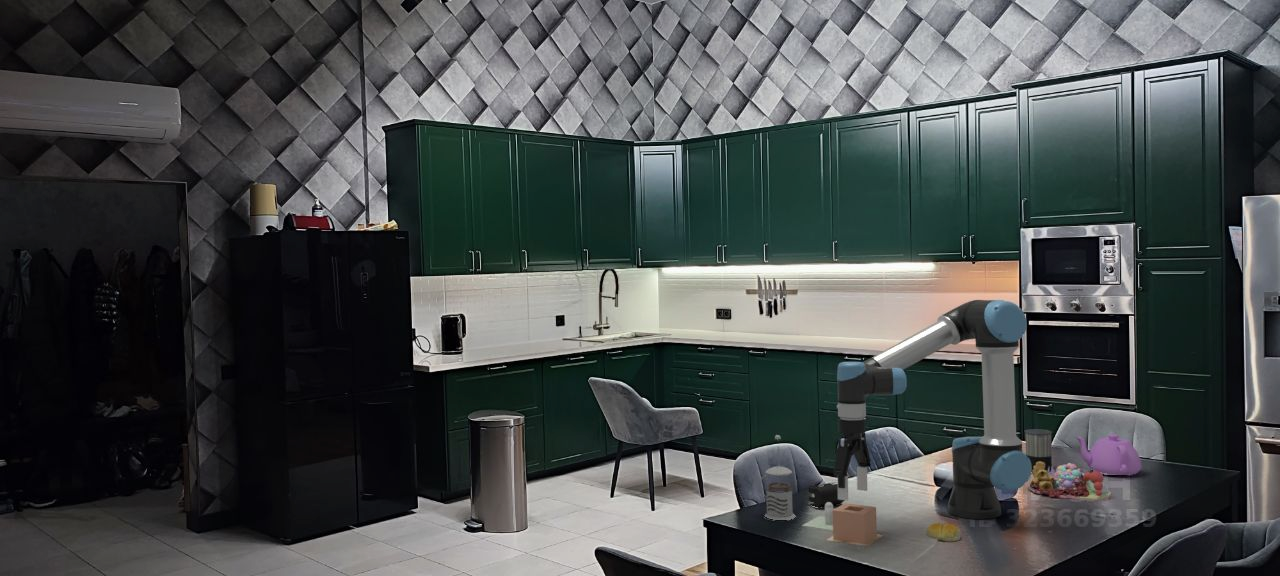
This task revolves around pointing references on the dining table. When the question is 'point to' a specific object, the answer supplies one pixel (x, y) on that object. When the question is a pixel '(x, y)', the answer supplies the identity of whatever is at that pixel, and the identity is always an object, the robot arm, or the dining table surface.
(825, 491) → the black rounded block
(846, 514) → the collar
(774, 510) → the french press
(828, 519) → the green base with peg
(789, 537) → the dining table surface
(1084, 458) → the teapot
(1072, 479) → the plate of food
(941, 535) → the bread roll
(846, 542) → the stand
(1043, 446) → the milk frother
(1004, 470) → the robot arm
